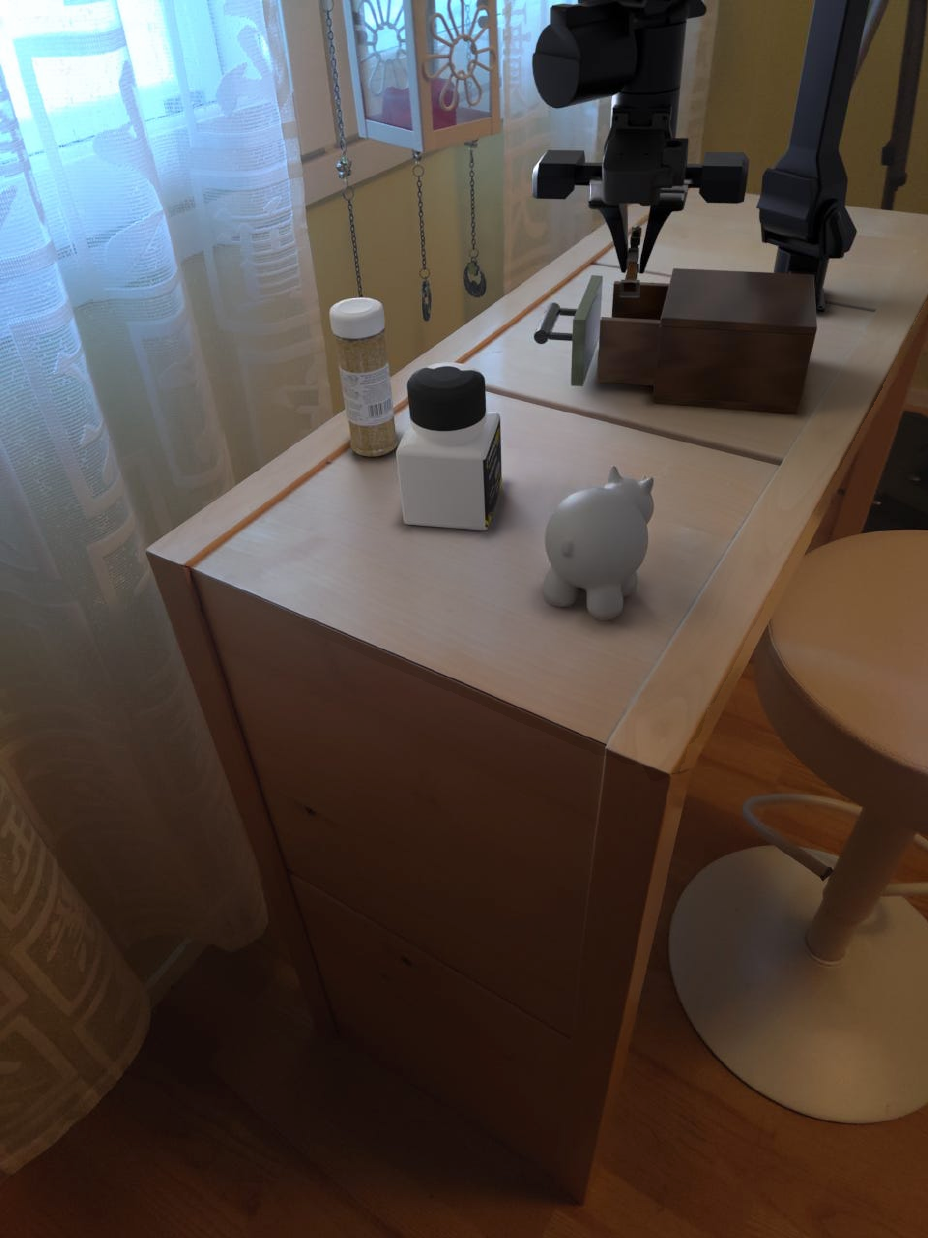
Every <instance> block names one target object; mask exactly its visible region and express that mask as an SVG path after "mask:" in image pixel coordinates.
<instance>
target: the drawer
mask: <svg viewBox="0 0 928 1238" xmlns="http://www.w3.org/2000/svg"><path fill="white" fill-rule="evenodd" d="M603 276H604V275H597V274H596V275H595V274H594V275H593V274H592V275H591V276H590V277H589V280H588V282H587V285H586V287H585V289H584V292H583V294H582V297H581V300H580V302H579V304H578V307H577V308H568V307H561V306H560V305H559V303H557V302H550V303H548V305H547V306H546V308H545V311H544V313H543V315H542V317H541V319H540V321H539V323H538V325H537V327H536V329H535V331H534V333H533V339H534V341H535V343H536V344H538V345H544V344H546V343H547V342H548V341H565V342H571V368H570V369H571V371H570V372H571V373H570V386H574V387H583V386H584V384H585V380H586V378H587V375H588V372H589V370H590V367H591V364H592V361H593V358H594V355H595V352H596V349H597V346H598V357H597V358H598V359H597V375H596V381H597V382H603V383H615V384H630V385H643V386H654V382H655V373H656V363H657V353H658V343H659V333H660V323H661V316H662V312H663V308H664V304H665V300H666V295H667V291H668V287H669V283H668V282H667V283H666V282H665V283H664V282H644V281H643V282H642V281H640V290H639V297H620V282H621V280H614V281H613V287H612V300H611V301H612V302H611V317H609V316H608V317H606V316H602V300H603V282H604V281H603V280H604V277H603ZM559 316H561V317H573V318H572V332H559V331H558V332H556V331H553V330H554V328H555V325H556V323H557V321H558V318H559Z"/></svg>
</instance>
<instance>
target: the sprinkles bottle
mask: <svg viewBox="0 0 928 1238" xmlns="http://www.w3.org/2000/svg"><path fill="white" fill-rule="evenodd" d="M329 322H330V328H331V332H332V333H333V337H334V338H335V339H334V340H335V346H336V353H337V358H338V370H339V376H340V381H341V389H342V395H343V401H344V409H345V415H346V419H347V423H348V429H349V436H350V448H351V449H352V451H353V452H354V453H356V454H357V455H359V456H362V457H368V458H369V457H370V458H371V457H380V456H384V455H387V454H389V453H391V452H393V451H394V450H395V449H396V448H397V446H398V445H399V438H398V435H397V431H396V422H395V409H394V401H393V392H392V381H391V374H390V366H389V360H388V354H387V346H386V338H385V329H386V328H385V327H386V320H385V312H384V307H383V304H382V303H381V302H380V301H379V300H377V299H374V298H370V297H352V298H350V297H349V298H346V299H343V300H339V301H337V302H336V303H334V304H333V305H332V306H331V307H330V309H329Z"/></svg>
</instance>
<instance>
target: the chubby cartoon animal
mask: <svg viewBox="0 0 928 1238" xmlns="http://www.w3.org/2000/svg"><path fill="white" fill-rule="evenodd" d="M654 481H655V480H654V477H648V478H646V476H645V474H642V477H641V479H640V480H637V479H635V478H631V477H623V476H621V474H620V473H619V470H618V468H617V466H615V465H612V466H611V467H610V470H609V472H608V476H607V483H606V485H605V486H603V487H589V488H584V489H581V490H578V491H575V492H573V493H572V494H570V495H568V496H567V497H566V498H564V499H563V500H561V501H560V502H559V504H558V505H556V507H555V509H554V510H553V511H552V513H551V515H550V517H549V519H548V521H547V524H546V528H545V534H544V545H545V551H546V555H547V557H548V561H549V562H550V567H549V569H548V572H547V573H546V575H545V578H544V580H543V582H542V583H543V584H542V589H541V590H542V596H543V599H544V600H545V602H546V603H547V604H549V605H551V606H554V607H558V608H559V607H560V608H561V607H563V608H564V607H569V606H571V605H573V604H574V603H575V602H576V600H577V598H578V595H579V588H580V589H582V590H585V592H586V608H587V611H588V613H589V614H590V615H591V616H592V617H593V618H595V619H596V620H599V621H609V620H612V619H615V618H616V617H618V616H619V615H621V613H622V611H623V609H624V598H627V597H630V596H631V595H633V594H634V593H635V592H636V590H637V588H638V581H639V580H638V570H639V568H640V567H641V565H642V564H643V562H644V560H645V558H646V554H647V552H648V546H649V529H648V526H647V525H648V524H649V522H650V521H651V519H652V517H653V514H654V511H655V510H654V509H655V502H654V497H653V496H652V490H653V487H654V484H655V483H654Z"/></svg>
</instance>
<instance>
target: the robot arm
mask: <svg viewBox="0 0 928 1238" xmlns="http://www.w3.org/2000/svg"><path fill="white" fill-rule="evenodd" d="M870 2H871V0H814V1H813V5H812V12H811V17H810V21H809V22H810V23H809V27H808V33H807V39H806V45H805V51H804V56H803V61H802V68H801V73H800V79H799V84H798V89H797V95H796V101H795V105H794V112H793V113H794V114H793V118H792V122H791V123H792V124H791V129H790V134H789V139H788V140H789V141H788V145H787V149H786V150H785V152H784V153H783V154H782V156H781V157H780V158H779V159H778V161H777V162H776V163H775V165H774V166H773V167H767V168H766V169H765V170H764V172H763V174H762V176H761V189H760V194H759V198H758V201H757V203H756V207H755V208H756V209H758V221H759V224H760V235H761V236H760V237H761V243H763V244H770V245H773V246H776V247H777V251H776V256H775V262H774V267H773V272H772V273H793V274H813V276H814V290H815V305H816V313H824V312H825V310H826V300H825V289H824V285H825V282H826V276H827V272H828V268H829V263H830V259H832V260H835V259H836V260H837V259H838V260H839V259H843V258H844V256H845V254H846V253H848V252H849V251H850V250H851V248H852V246H853V244H854V240H855V238H856V236H857V233H858V230H857V228H856V226H855V224H854V222H853V220H852V218H851V216H850V214H849V212H848V210H847V208H846V198H847V192H848V191H847V189H848V182H849V178H848V175H847V172H846V168H845V165H844V162H843V159H842V156H841V153H840V144H841V139H842V136H843V135H842V134H843V129H844V126H845V120H846V116H847V110H848V106H849V102H850V98H851V97H850V96H851V92H852V88H853V83H854V77H855V73H856V68H857V65H858V64H857V63H858V59H859V54H860V50H861V44H862V42H863V41H862V40H863V35H864V32H865V31H864V30H865V26H866V22H867V16H868V11H869V8H870ZM707 11H708V9H707V5H706V4H705V3H704V2H703V0H577V3H575V4H572V3H556V4H552V5H551V7H550V8H549V24H548V25H547V26H546V27H545V28H543V29H542V30H541V33H540V34H539V36H538V38H537V41H536V44H535V48H534V52H533V53H532V55H531V69H532V77H533V82H534V85H535V87H536V91H537V93H538V95H539V96H540V98H541V100H542V101H543V102H544V103H545V104H546V105H548V106H549V107H550V108H552V109H555V110H558V109H564V108H568V107H572V106H575V105H580V104H585V103H589V102H593V101H596V100H597V101H598V100H601V99H605V98H609V97H611V101H610V102H611V104H610V105H611V106H610V123H609V130H608V131H609V132H608V134H607V137H606V140H605V141H604V142H605V143H604V148H603V158H602V159H603V161H602V162H589V161H588V162H586V156H585V150H584V149H582V150H581V149H548V150H547V151H546V152H545V153H544V154H543V155H542V156H541V158H540V159H539V161H538V162H537V163H536V165H535V166H534V168H533V169H532V170H533V171H532V177H531V179H532V181H531V182H532V183H531V194H532V195H531V197H532V198H534V199H536V200H566V199H567V198H568V197H569V196H570V195H571V194H572V193H573V192H574V191H575V189H576V186H581V187H583V186H584V187H587V186H588V187H589V188H588V190H589V191H590V192H589V199H588V201H587V207H588V208H589V209H590V210H597V211H598V212H599V213H600V215H602V217H603V218H604V221H605V223H606V225H607V228H608V230H609V232H610V235H611V239H612V242H613V247H614V250H615V254H616V258H617V261H618V266H619V269H620V272H621V274H622V273H623V274H626V273H627V260H628V250H629V207H628V206H629V204H630V205H631V204H632V205H639V206H640V207H649V211H648V217H647V223H646V228H645V233H644V238H643V241H642V247H641V252H640V255H639V273H638V274H640V275H642V274H644V273H645V270H646V267H647V265H648V263H649V260H650V258H651V254H652V252H653V250H654V247H655V244H656V242H657V239H658V237H659V234H660V232H661V231H662V229H663V227H664V225H665V224H666V222H667V220H668V219H669V217H670V215H671V214H672V213H673V212H682V211H683V210H684V209H685V206H686V203H687V198H688V194H689V189H698V194H699V195H700V197H701V198H702V199H703V200H704V201H705V203H706V204H723V205H725V204H727V205H728V204H729V205H730V204H731V205H738V204H742V203H745V199H746V191H747V185H748V178H749V170H750V158H749V157H748V156H747V154H746V153H745V152H744V151H743V152H741V151H738V152H737V151H705V152H704V155H703V156H704V157H703V161H702V163H688V159H689V144H690V143H689V140H690V139H689V138H688V137H677V129H678V127H677V126H678V118H679V117H678V116H679V106H680V98H681V97H680V96H681V87H682V86H681V84H682V76H683V65H684V54H685V44H686V32H687V25H688V24H687V23H688V20H690V19H696V18H701V17H703V16H704V17H705V15H706V13H707Z"/></svg>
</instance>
